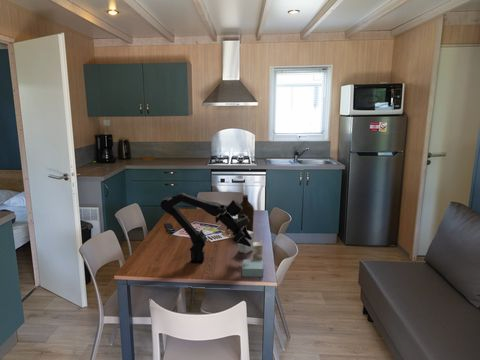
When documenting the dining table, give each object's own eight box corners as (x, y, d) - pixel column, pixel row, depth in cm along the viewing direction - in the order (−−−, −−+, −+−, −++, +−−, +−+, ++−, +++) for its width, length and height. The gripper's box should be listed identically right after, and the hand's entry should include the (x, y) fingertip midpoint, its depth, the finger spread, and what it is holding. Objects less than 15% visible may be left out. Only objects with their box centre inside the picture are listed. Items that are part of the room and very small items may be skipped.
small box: (246, 247, 198) (246, 229, 196) (254, 249, 195) (254, 231, 193) (237, 251, 192) (237, 233, 190) (245, 253, 189) (245, 235, 187)
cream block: (252, 263, 176) (252, 245, 174) (253, 259, 181) (253, 242, 179) (262, 264, 176) (262, 245, 174) (262, 260, 181) (262, 242, 179)
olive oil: (244, 236, 216) (244, 198, 211) (234, 232, 224) (233, 195, 219) (257, 232, 222) (257, 195, 218) (246, 228, 231) (246, 192, 226)
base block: (242, 276, 163) (242, 268, 162) (243, 267, 173) (243, 259, 172) (263, 276, 162) (263, 268, 161) (263, 267, 172) (263, 260, 171)
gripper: (238, 216, 165) (261, 238, 166) (241, 206, 183) (262, 226, 184) (222, 232, 167) (245, 253, 168) (227, 220, 185) (247, 240, 186)
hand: (251, 242), depth 177 cm, fingers open, 9 cm apart
